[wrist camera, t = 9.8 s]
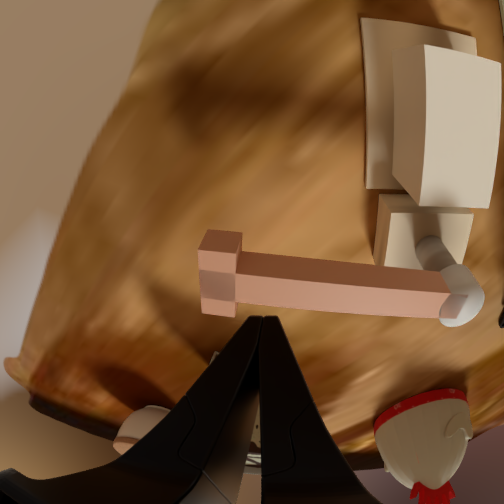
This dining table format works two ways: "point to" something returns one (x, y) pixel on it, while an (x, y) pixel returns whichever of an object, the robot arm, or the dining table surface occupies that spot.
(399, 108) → the block
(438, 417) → the kitchen timer
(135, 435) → the lidded jar
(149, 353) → the dining table surface
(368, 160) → the housing
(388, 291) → the latch bar
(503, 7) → the mat
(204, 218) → the dining table surface
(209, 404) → the robot arm
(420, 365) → the dining table surface
